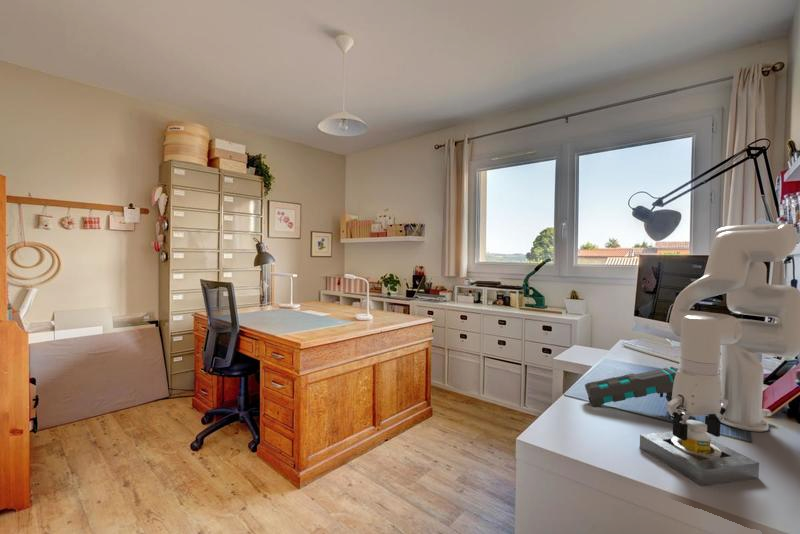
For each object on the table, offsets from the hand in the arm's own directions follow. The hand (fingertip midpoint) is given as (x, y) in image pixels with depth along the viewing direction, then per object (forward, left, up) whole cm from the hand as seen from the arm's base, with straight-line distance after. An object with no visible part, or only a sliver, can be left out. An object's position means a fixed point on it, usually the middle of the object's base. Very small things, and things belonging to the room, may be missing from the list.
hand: (696, 435), depth 89 cm
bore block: (0, 0, -6) cm, 6 cm away
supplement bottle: (0, 0, -7) cm, 7 cm away
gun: (-12, -29, -7) cm, 32 cm away
